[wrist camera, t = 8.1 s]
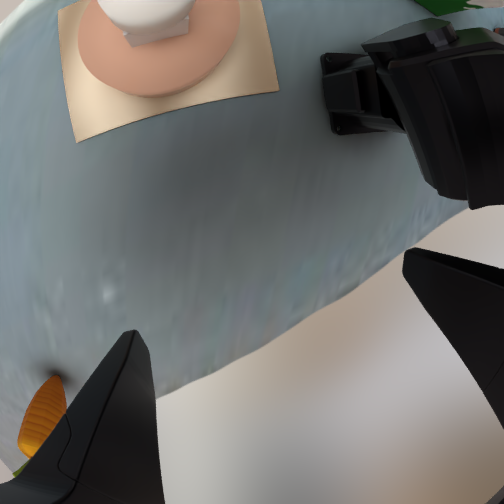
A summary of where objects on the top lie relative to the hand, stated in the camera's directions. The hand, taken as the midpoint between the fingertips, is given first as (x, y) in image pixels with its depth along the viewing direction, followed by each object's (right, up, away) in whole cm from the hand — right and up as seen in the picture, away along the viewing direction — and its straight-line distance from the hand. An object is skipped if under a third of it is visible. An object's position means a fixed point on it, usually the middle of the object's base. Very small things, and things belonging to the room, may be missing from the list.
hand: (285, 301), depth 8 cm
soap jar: (-7, +15, +5) cm, 18 cm away
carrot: (-23, -12, +15) cm, 30 cm away
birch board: (-7, +15, +5) cm, 18 cm away
